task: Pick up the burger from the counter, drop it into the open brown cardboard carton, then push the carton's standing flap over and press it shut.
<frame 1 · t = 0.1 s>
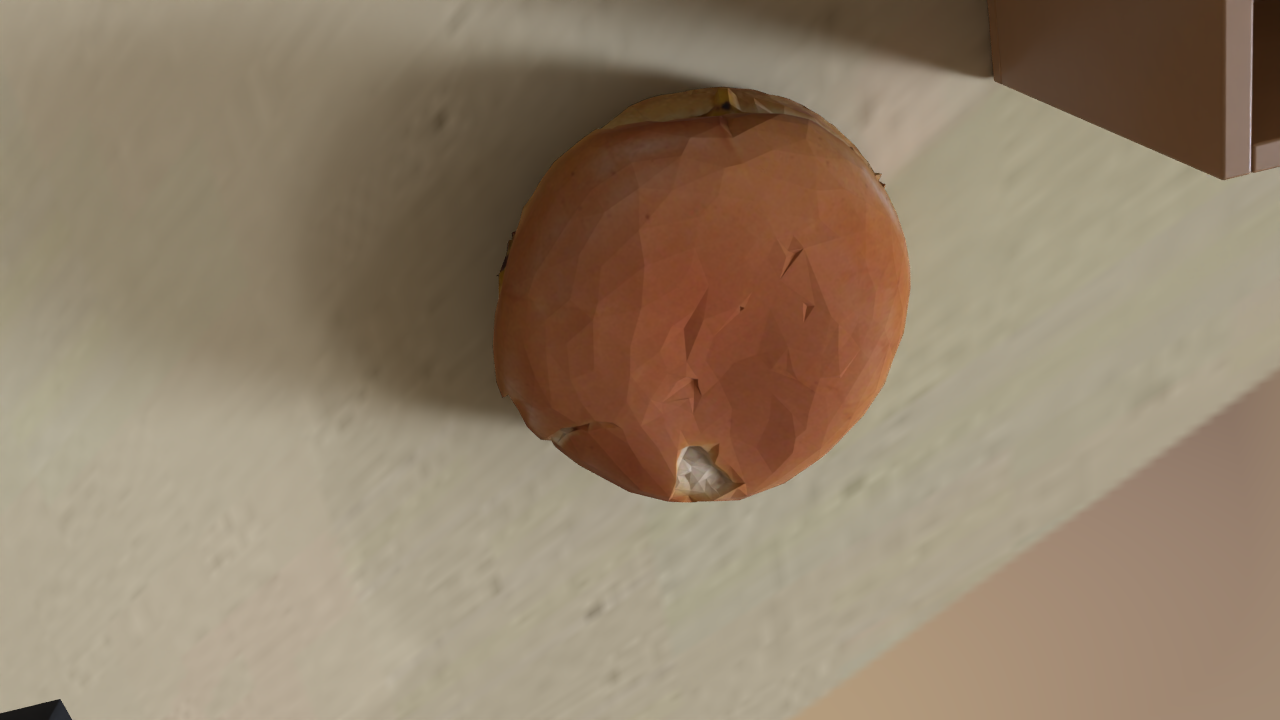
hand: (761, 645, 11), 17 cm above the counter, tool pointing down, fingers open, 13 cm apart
burger: (691, 272, 28), on the counter
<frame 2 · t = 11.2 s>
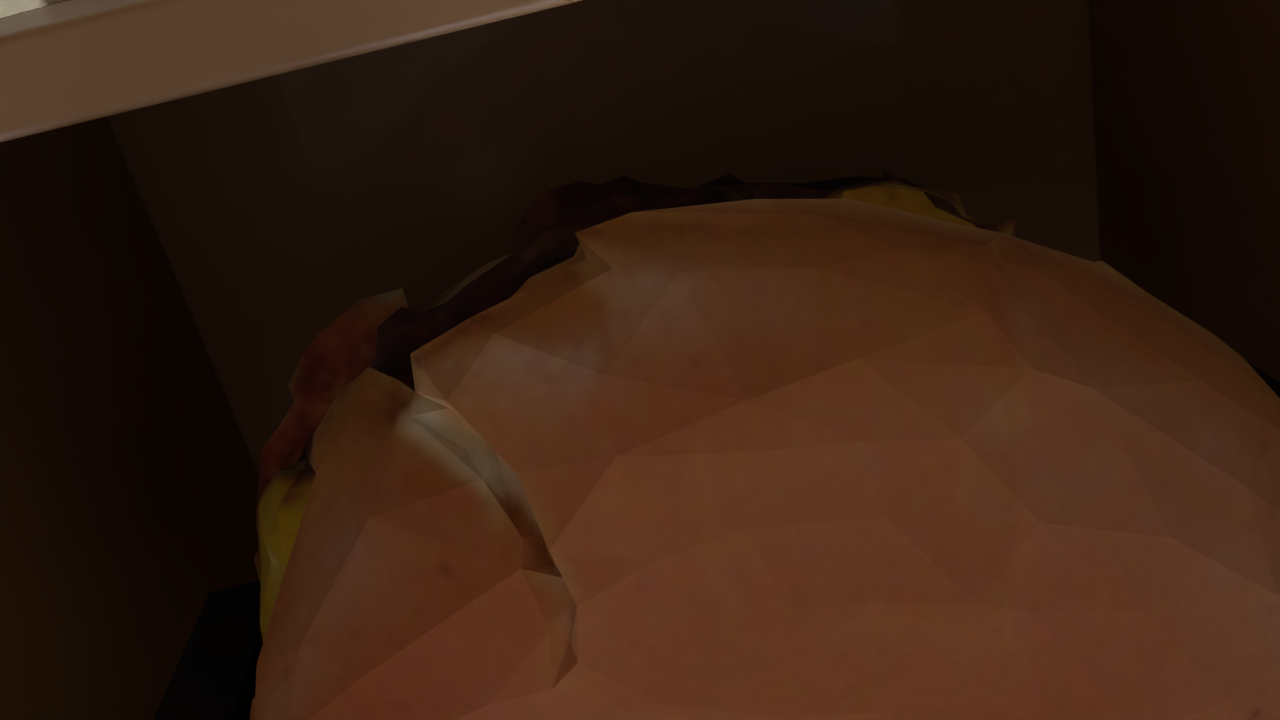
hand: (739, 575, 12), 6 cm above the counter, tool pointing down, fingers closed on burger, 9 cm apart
carton: (676, 361, 17), on the counter
burger: (726, 553, 12), point 5 cm above the counter, touching gripper
when the fingers open (9 cm above the counter, at t = 27.9 s): burger stays where it is, resting on carton.
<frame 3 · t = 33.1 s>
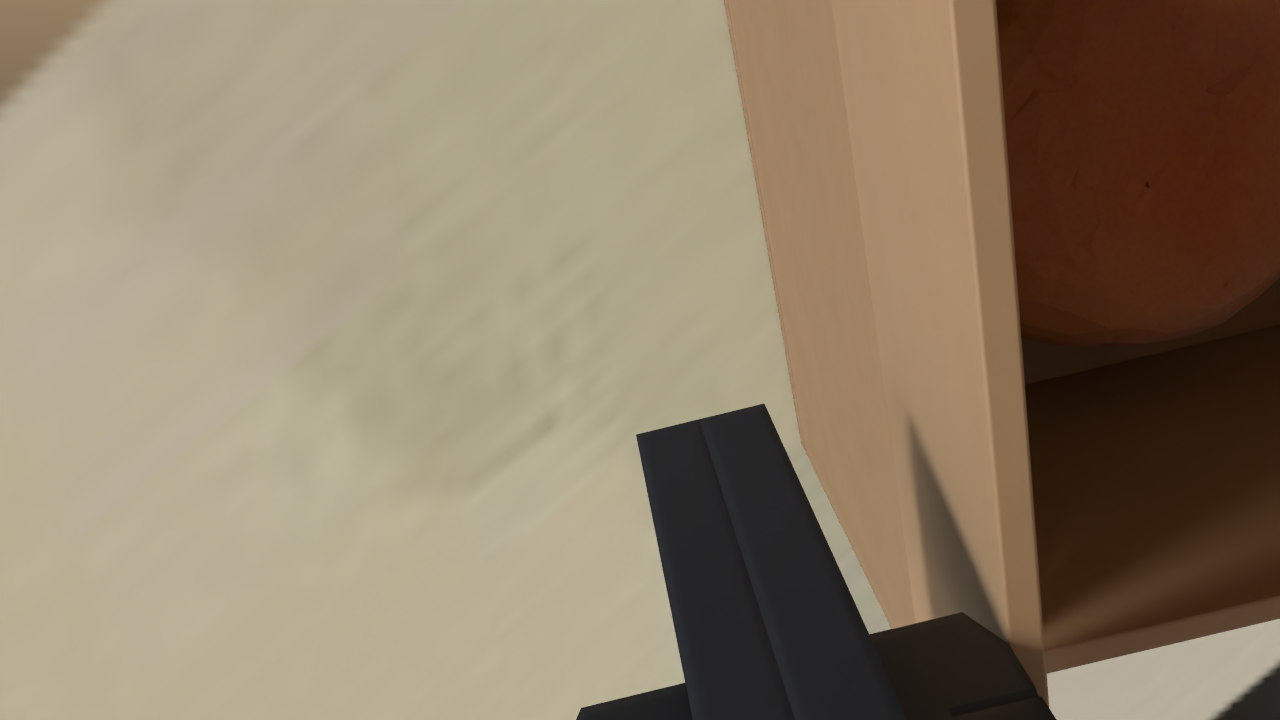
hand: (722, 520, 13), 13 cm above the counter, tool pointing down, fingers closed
flap: (943, 485, 12), point 14 cm above the counter, hinge at 97.3°
carton: (1057, 106, 25), on the counter
burger: (1060, 93, 24), resting on carton
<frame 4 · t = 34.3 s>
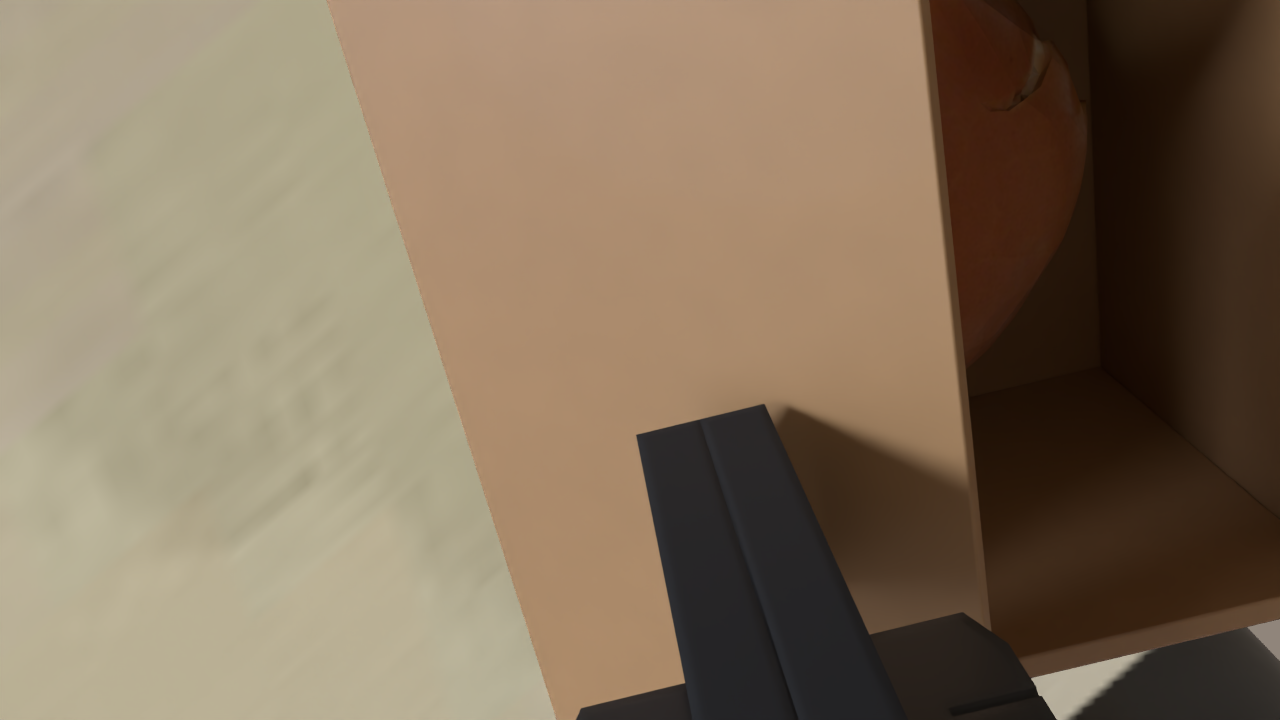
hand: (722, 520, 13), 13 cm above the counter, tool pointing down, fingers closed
flap: (695, 472, 14), point 12 cm above the counter, hinge at 33.1°, touching gripper
carton: (796, 166, 25), on the counter
burger: (795, 154, 24), resting on carton
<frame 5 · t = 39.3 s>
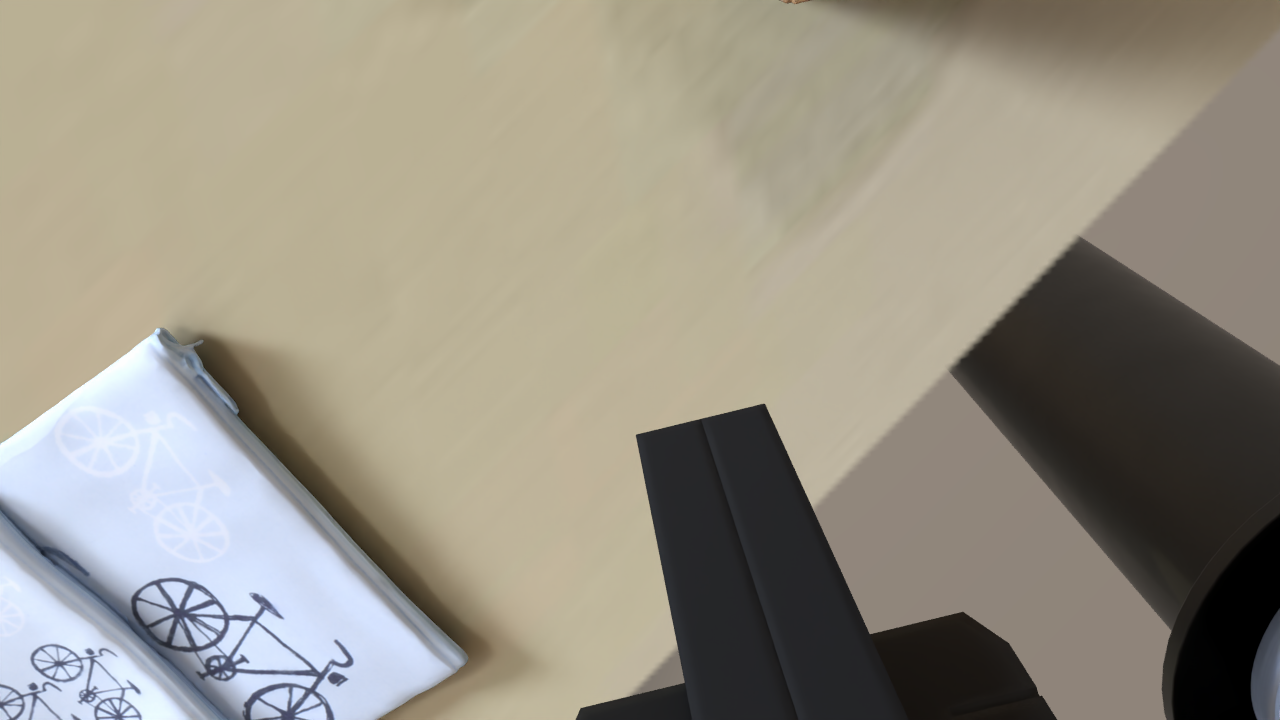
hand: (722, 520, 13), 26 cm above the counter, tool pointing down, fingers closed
snack bag: (149, 626, 44), on the counter
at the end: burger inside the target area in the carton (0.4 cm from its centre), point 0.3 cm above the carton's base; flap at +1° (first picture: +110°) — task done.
